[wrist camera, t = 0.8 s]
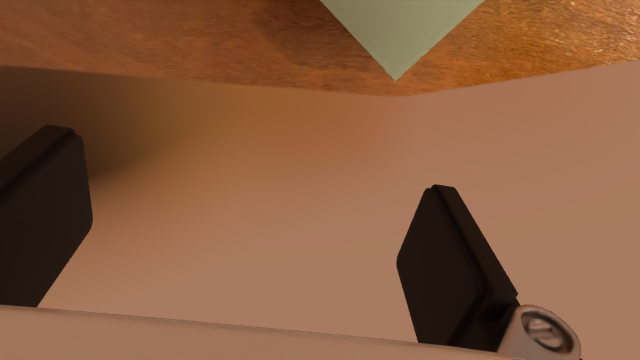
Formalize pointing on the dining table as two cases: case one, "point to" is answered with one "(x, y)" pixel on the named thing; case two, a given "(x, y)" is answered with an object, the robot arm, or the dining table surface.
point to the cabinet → (399, 27)
